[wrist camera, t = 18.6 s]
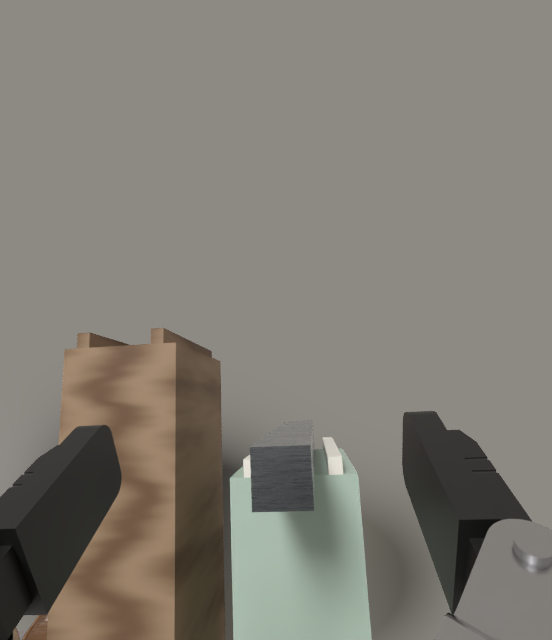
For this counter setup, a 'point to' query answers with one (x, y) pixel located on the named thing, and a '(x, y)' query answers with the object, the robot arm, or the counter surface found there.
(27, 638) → the tin
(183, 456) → the walnut post
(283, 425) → the bar
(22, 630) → the counter surface
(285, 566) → the sage green box
